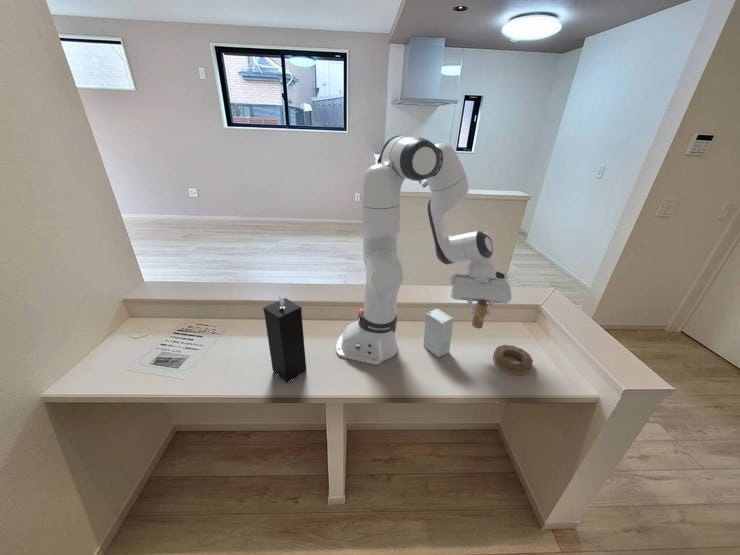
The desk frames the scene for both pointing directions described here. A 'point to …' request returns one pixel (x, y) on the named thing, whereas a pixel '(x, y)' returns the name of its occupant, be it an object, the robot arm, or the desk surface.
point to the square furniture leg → (285, 338)
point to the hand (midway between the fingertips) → (480, 313)
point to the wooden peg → (480, 314)
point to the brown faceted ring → (510, 366)
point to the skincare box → (438, 332)
